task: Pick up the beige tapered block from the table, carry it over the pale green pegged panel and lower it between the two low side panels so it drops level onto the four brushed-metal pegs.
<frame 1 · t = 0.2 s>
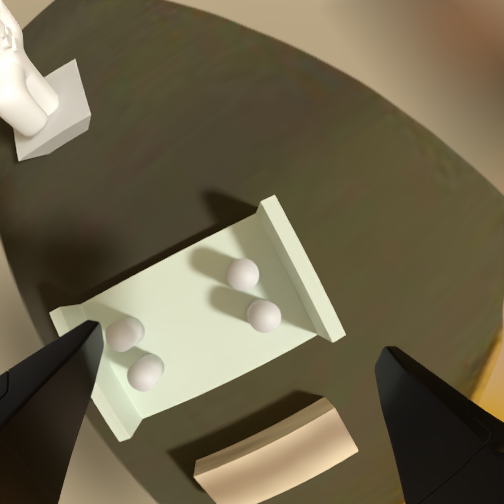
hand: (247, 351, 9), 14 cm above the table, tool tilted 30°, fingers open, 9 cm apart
beige tapered block: (273, 450, 23), on the table
figurine: (64, 125, 24), on the table
pale green pegged panel: (195, 321, 23), on the table
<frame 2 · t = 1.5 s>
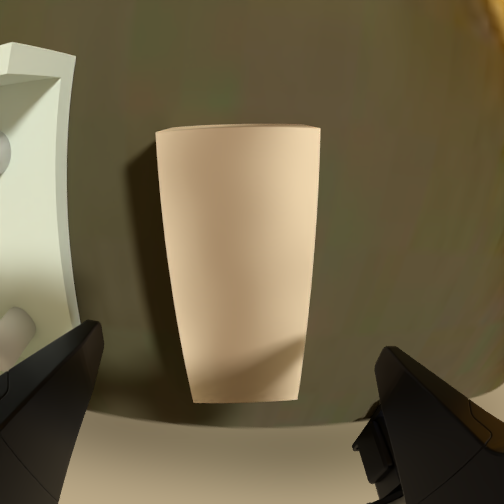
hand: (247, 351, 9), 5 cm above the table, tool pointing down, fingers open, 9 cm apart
beige tapered block: (240, 262, 14), on the table
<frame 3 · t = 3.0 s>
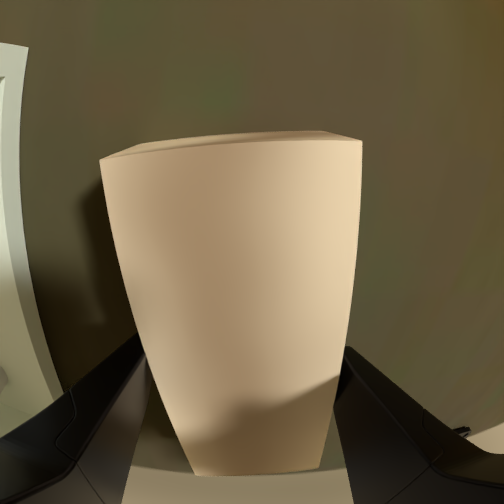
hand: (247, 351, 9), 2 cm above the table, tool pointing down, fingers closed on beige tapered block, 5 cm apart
beige tapered block: (244, 318, 11), on the table, touching gripper
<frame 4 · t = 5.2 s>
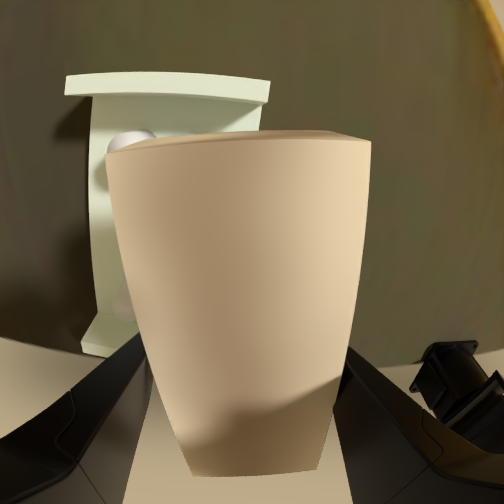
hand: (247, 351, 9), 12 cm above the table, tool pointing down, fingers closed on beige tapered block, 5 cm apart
beige tapered block: (245, 318, 11), point 10 cm above the table, touching gripper
pale green pegged panel: (165, 217, 20), on the table
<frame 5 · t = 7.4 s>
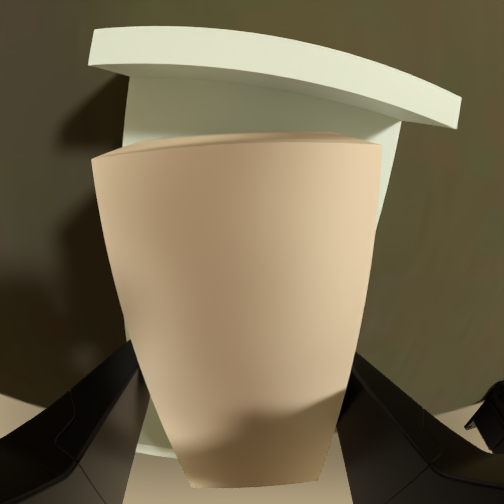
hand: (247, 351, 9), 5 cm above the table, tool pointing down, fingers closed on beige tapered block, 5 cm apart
beige tapered block: (245, 328, 10), point 4 cm above the table, touching gripper, pale green pegged panel
pale green pegged panel: (241, 271, 14), on the table
when the fingers open (5 cm above the table, at t = 8.0 s): beige tapered block stays where it is, resting on pale green pegged panel.
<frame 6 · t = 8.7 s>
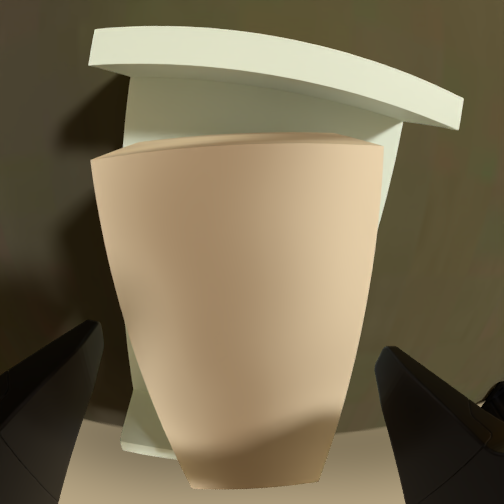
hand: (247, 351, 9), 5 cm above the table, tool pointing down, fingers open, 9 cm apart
beige tapered block: (245, 330, 10), point 4 cm above the table, touching pale green pegged panel
pale green pegged panel: (241, 272, 14), on the table
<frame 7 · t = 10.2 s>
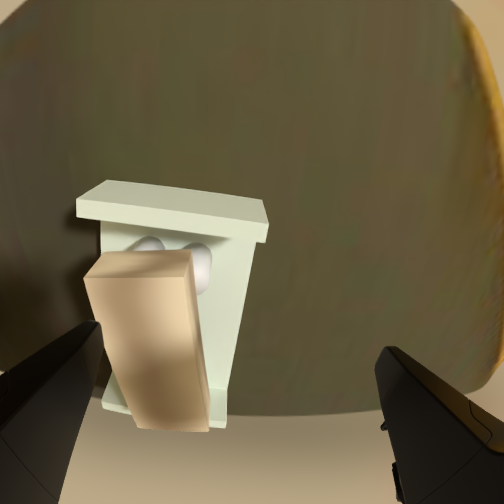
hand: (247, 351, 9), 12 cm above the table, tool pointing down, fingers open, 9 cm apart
beige tapered block: (162, 338, 19), point 4 cm above the table, touching pale green pegged panel
pale green pegged panel: (172, 303, 23), on the table
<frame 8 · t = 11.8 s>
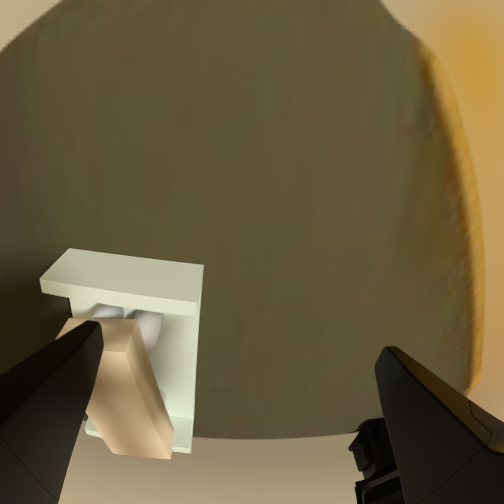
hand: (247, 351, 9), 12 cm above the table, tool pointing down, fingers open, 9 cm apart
beige tapered block: (125, 383, 21), point 4 cm above the table, touching pale green pegged panel
pale green pegged panel: (137, 349, 24), on the table
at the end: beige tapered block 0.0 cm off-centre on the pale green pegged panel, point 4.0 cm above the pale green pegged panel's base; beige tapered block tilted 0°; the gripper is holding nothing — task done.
